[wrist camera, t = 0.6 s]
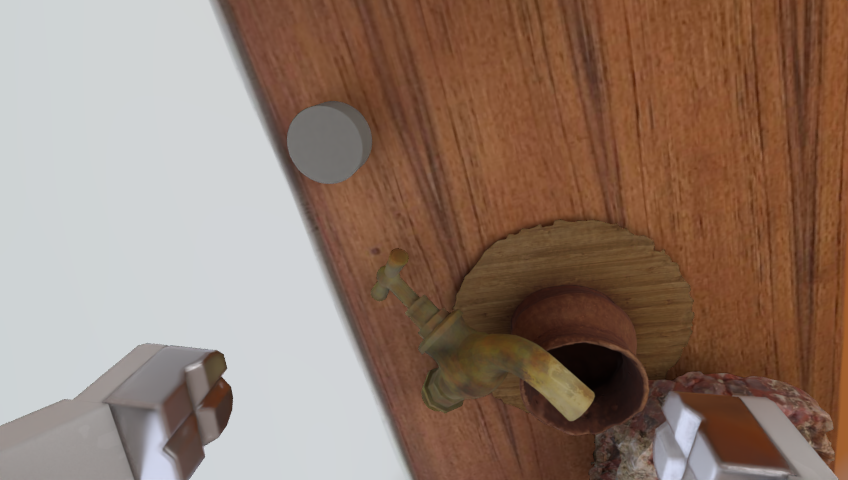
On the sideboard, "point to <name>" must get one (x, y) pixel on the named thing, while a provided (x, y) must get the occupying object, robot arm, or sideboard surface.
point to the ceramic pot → (583, 314)
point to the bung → (329, 141)
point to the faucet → (477, 354)
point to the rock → (632, 441)
